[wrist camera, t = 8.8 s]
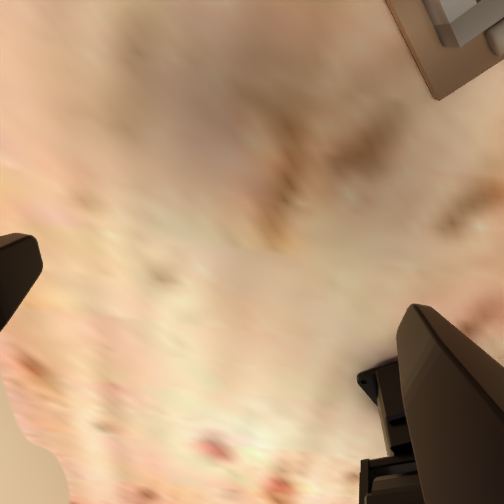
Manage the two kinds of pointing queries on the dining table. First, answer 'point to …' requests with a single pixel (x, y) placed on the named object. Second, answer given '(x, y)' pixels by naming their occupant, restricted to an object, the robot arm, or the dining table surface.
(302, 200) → the dining table surface
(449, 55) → the frame
